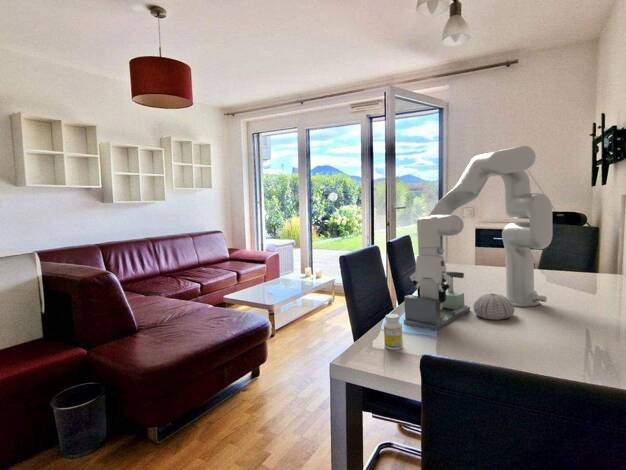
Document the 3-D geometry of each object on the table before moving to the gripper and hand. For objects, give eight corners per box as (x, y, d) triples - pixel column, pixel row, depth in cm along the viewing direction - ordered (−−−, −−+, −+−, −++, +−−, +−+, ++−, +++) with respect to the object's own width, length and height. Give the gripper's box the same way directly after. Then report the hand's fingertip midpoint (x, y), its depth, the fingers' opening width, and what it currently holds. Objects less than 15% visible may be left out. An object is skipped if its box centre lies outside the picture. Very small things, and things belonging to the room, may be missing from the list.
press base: (470, 310, 139) (469, 286, 138) (435, 330, 121) (433, 302, 120) (440, 305, 148) (439, 282, 147) (403, 323, 130) (402, 297, 129)
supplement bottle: (397, 351, 107) (396, 319, 106) (381, 347, 110) (379, 316, 110) (406, 345, 111) (404, 314, 110) (390, 342, 115) (388, 312, 114)
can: (421, 313, 128) (420, 279, 127) (419, 307, 136) (418, 275, 135) (444, 313, 127) (442, 278, 126) (441, 307, 134) (440, 274, 133)
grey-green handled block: (465, 305, 139) (464, 272, 137) (458, 309, 134) (457, 275, 133) (441, 302, 146) (439, 269, 145) (433, 305, 142) (431, 272, 141)
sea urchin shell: (474, 321, 128) (473, 298, 127) (472, 309, 140) (472, 289, 140) (517, 323, 123) (516, 299, 122) (512, 311, 135) (511, 289, 135)
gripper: (458, 251, 126) (460, 301, 127) (413, 249, 139) (415, 294, 140) (447, 254, 121) (449, 306, 122) (402, 251, 134) (404, 299, 135)
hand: (431, 300), depth 131 cm, fingers closed on can, 7 cm apart
